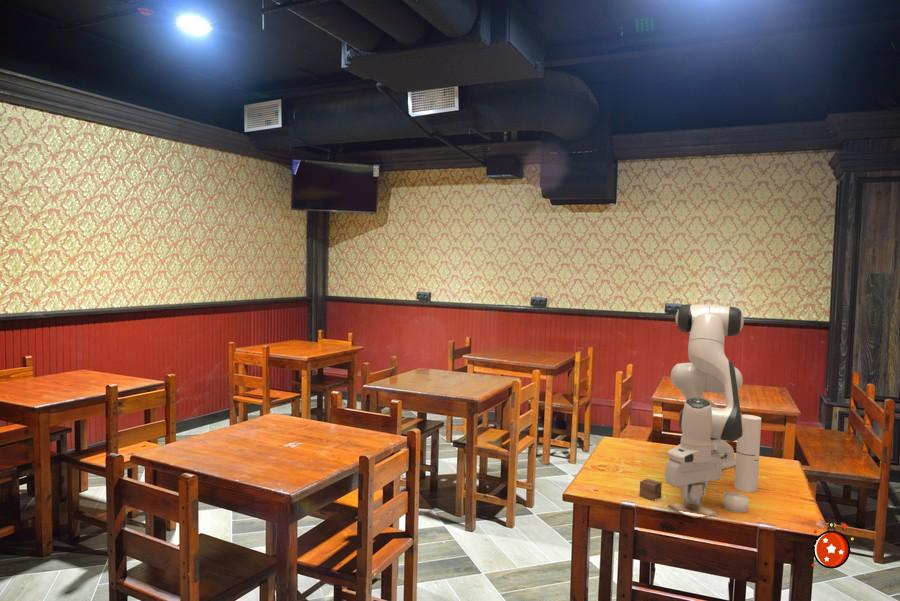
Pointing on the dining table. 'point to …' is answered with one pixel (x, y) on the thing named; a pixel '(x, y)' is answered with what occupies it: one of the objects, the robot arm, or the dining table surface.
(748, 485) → the cylindrical container
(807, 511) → the dining table surface
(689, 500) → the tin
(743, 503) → the white rounded block
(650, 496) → the walnut block
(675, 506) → the wavy beige sheet
